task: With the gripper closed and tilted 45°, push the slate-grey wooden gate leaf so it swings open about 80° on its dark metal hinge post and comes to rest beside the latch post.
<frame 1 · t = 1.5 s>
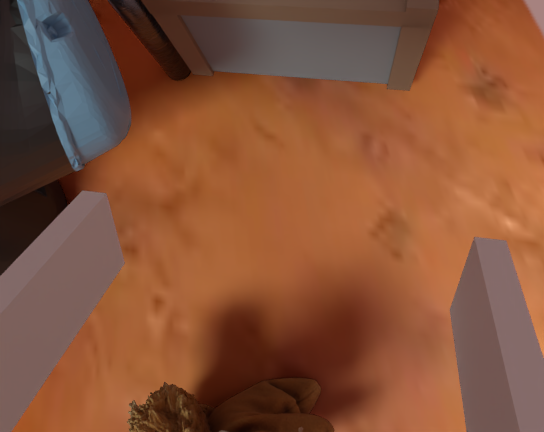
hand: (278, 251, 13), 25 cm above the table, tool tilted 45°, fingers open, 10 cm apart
gate posts: (179, 68, 42), on the table
gate leaf: (291, 34, 34), point 7 cm above the table, hinge at 0.0°
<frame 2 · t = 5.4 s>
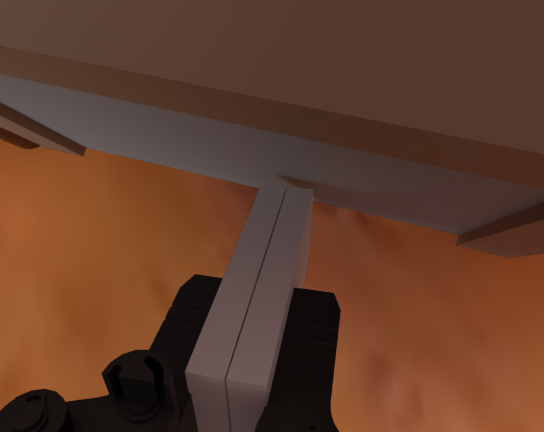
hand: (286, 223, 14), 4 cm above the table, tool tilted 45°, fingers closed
gate posts: (31, 123, 21), on the table
gate leaf: (229, 120, 12), point 7 cm above the table, hinge at 3.6°, touching gripper
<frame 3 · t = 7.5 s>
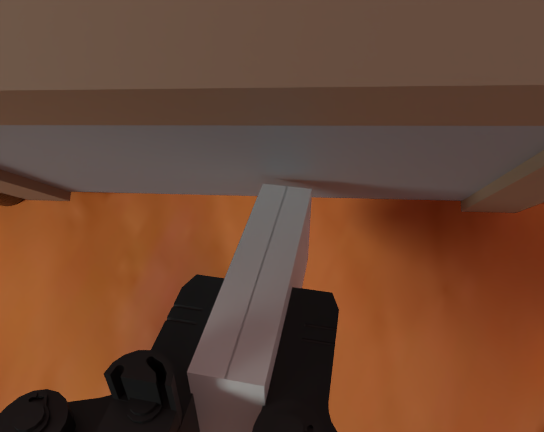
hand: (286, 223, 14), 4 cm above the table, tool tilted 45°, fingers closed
gate leaf: (215, 130, 12), point 7 cm above the table, hinge at 41.6°, touching gripper
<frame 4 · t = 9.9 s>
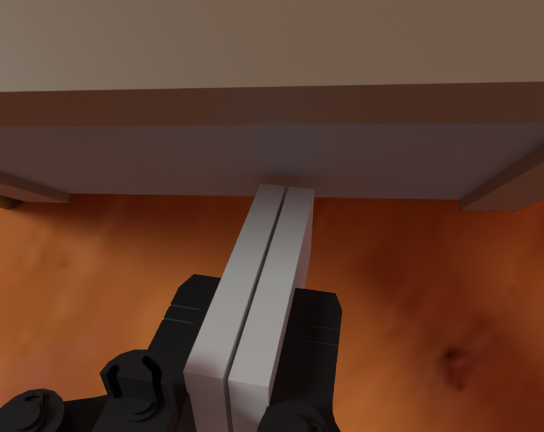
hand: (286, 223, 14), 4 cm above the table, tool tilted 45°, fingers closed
gate leaf: (212, 130, 12), point 7 cm above the table, hinge at 85.2°, touching gripper
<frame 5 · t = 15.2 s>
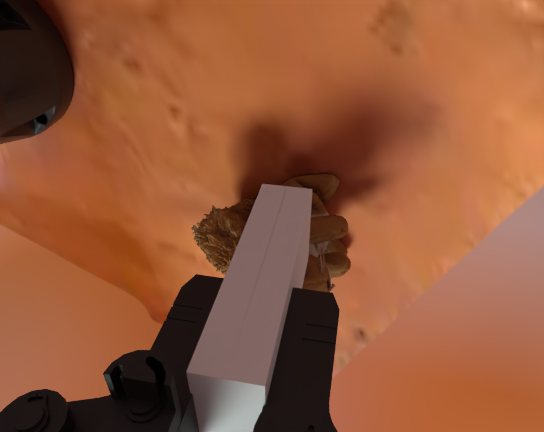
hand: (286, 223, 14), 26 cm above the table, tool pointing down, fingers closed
stuffed squirrel: (285, 210, 47), on the table
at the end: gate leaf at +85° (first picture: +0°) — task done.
